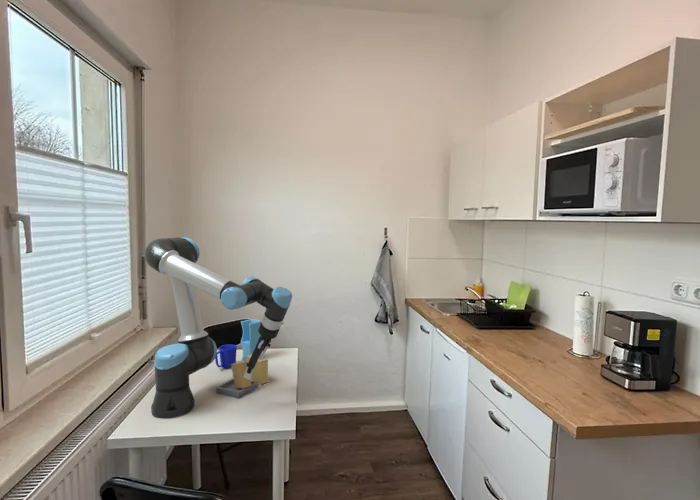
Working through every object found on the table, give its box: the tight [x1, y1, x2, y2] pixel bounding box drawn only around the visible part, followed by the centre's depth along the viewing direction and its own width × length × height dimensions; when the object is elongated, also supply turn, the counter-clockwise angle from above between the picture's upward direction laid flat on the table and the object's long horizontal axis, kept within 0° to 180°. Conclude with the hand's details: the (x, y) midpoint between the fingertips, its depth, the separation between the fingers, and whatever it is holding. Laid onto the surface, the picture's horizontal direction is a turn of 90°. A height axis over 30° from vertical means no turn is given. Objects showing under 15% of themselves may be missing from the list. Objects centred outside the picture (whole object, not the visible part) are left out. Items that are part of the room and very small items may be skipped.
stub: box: [231, 361, 252, 388], centre depth 173 cm, size 7×4×10 cm, turn 46°
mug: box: [214, 343, 238, 369], centre depth 200 cm, size 8×12×10 cm
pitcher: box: [240, 318, 262, 362], centre depth 211 cm, size 8×8×20 cm
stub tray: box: [215, 377, 259, 399], centre depth 174 cm, size 12×12×2 cm
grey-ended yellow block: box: [246, 355, 269, 386], centre depth 184 cm, size 12×4×10 cm, turn 44°
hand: (253, 368), depth 165 cm, fingers open, 13 cm apart
